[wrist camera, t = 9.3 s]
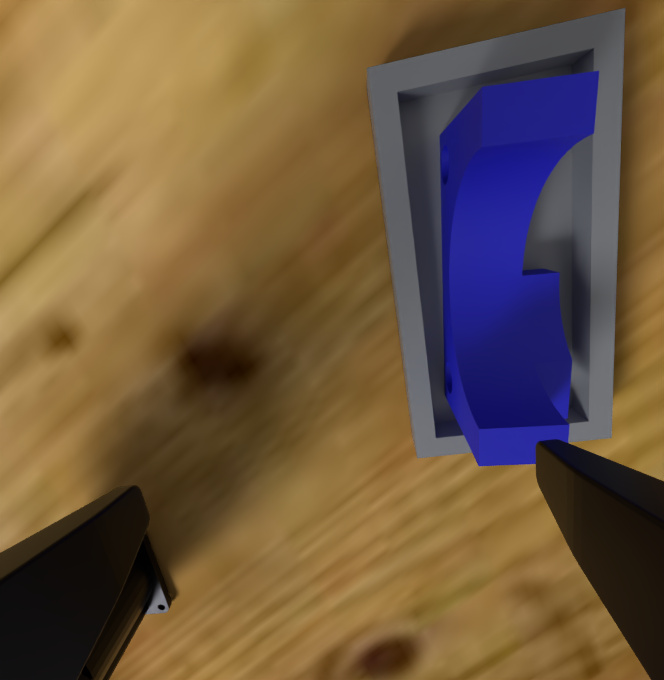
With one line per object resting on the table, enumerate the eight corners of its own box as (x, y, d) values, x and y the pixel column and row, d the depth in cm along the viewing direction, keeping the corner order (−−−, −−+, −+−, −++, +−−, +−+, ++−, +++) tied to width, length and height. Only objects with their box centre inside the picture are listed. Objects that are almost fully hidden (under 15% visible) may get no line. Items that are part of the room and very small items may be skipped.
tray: (587, 417, 20) (611, 438, 18) (412, 436, 21) (417, 458, 19) (591, 35, 15) (625, 7, 13) (366, 86, 16) (366, 67, 14)
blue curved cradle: (536, 389, 19) (611, 460, 13) (444, 394, 19) (478, 466, 14) (551, 121, 16) (661, 62, 10) (439, 135, 16) (482, 86, 10)
